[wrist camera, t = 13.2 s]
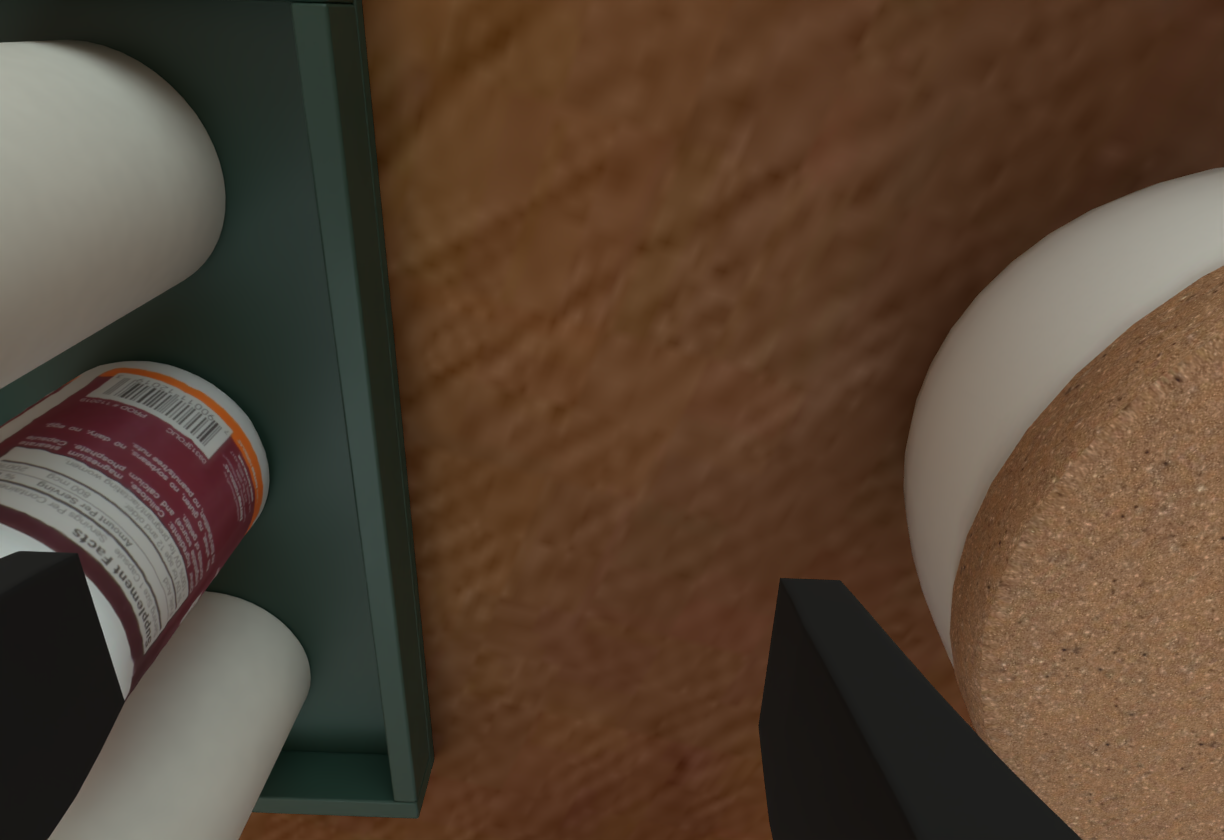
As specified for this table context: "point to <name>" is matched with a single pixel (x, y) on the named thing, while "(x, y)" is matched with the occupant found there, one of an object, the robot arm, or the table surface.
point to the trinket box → (1088, 513)
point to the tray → (289, 365)
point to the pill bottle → (133, 494)
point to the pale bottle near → (94, 194)
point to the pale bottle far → (196, 731)
